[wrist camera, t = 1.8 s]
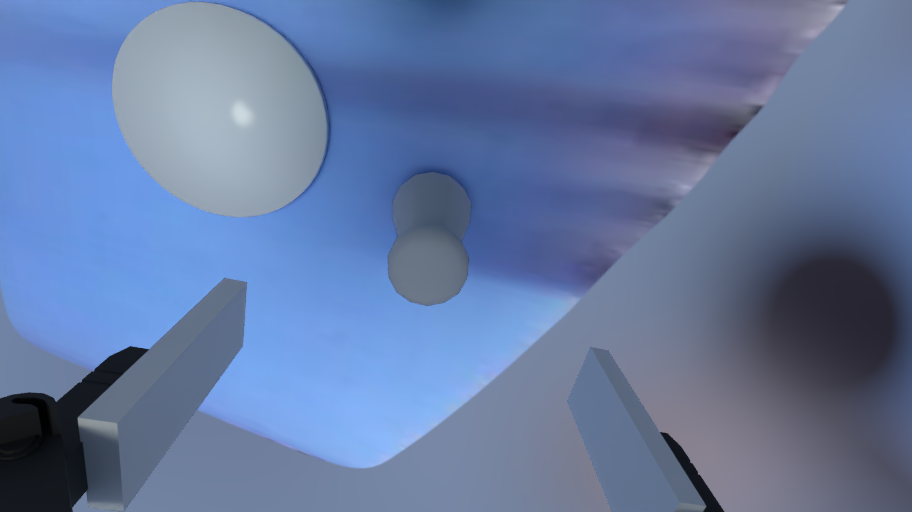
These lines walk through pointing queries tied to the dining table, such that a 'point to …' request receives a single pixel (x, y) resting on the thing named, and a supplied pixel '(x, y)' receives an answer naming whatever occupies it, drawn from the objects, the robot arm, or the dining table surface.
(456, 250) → the salt shaker
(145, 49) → the ceramic plate
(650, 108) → the dining table surface
